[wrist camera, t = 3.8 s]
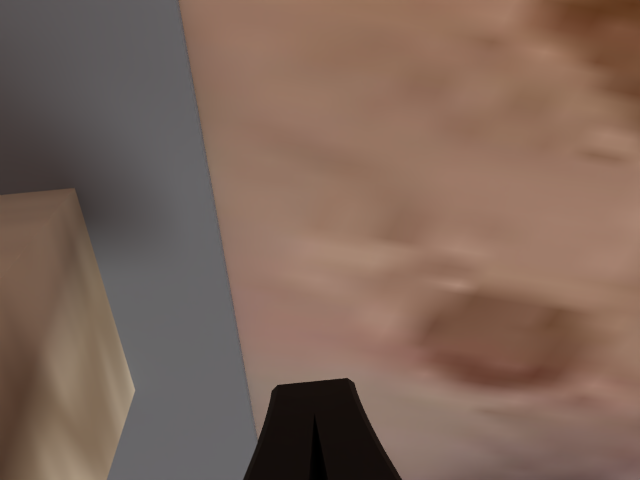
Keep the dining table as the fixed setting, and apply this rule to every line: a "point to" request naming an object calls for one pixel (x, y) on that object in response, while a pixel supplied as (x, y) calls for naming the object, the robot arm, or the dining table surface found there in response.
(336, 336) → the dining table surface
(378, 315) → the dining table surface
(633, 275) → the dining table surface
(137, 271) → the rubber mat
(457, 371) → the dining table surface
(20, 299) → the birch block
